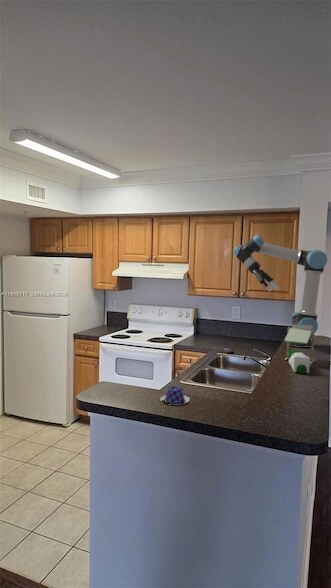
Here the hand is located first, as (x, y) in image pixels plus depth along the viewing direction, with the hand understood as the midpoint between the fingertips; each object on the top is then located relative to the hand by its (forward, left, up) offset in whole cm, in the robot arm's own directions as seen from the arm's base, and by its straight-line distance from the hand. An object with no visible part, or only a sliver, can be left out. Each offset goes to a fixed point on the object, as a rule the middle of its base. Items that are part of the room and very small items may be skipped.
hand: (274, 289), depth 233 cm
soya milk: (+21, +19, -35) cm, 45 cm away
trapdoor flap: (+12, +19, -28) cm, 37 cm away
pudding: (+106, -7, -40) cm, 114 cm away
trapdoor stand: (+12, +19, -40) cm, 46 cm away
